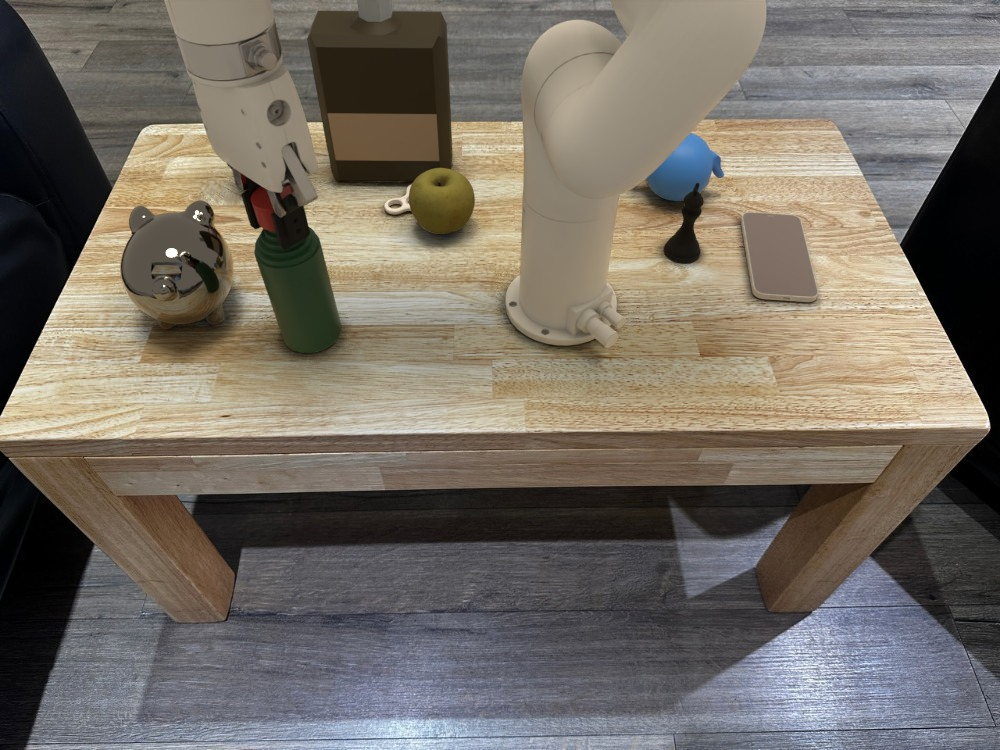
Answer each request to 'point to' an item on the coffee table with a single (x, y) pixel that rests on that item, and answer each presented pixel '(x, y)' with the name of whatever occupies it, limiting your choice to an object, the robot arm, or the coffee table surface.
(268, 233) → the sauce bottle
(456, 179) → the apple
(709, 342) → the coffee table surface
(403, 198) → the fidget spinner
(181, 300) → the piggy bank
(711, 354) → the coffee table surface
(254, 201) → the cap
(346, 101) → the bottle
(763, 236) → the smartphone
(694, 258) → the chess piece
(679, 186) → the blue mole toy
